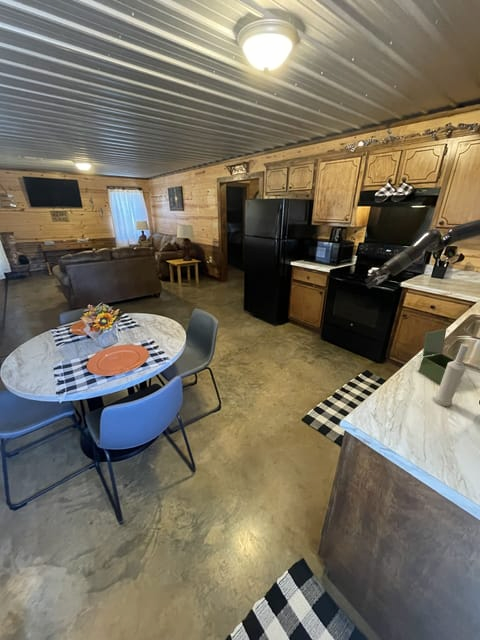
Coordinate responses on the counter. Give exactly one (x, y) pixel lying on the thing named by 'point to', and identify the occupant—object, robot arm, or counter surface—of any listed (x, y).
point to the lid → (434, 342)
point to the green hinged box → (435, 366)
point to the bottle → (451, 378)
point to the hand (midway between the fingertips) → (366, 284)
